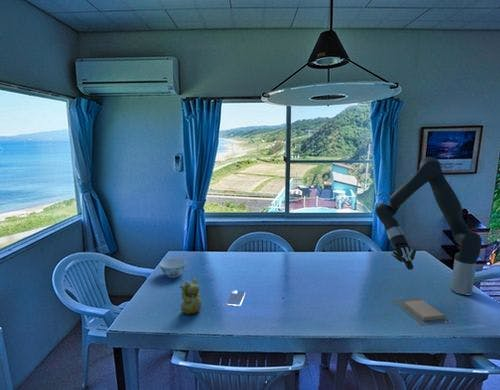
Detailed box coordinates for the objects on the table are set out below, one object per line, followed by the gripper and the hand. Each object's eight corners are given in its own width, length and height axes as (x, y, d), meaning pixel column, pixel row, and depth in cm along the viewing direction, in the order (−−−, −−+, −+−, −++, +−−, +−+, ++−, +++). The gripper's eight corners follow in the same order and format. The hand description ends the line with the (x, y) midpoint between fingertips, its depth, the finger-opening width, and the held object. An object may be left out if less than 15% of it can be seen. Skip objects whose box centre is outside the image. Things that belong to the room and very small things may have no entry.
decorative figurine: (194, 304, 148) (193, 274, 145) (206, 310, 143) (205, 279, 140) (178, 312, 141) (177, 282, 138) (190, 319, 135) (189, 287, 133)
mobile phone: (224, 304, 147) (232, 289, 162) (224, 306, 147) (232, 291, 162) (240, 305, 146) (246, 290, 161) (240, 307, 146) (246, 292, 161)
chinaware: (189, 270, 187) (189, 258, 185) (182, 281, 172) (181, 268, 171) (165, 269, 188) (165, 257, 187) (156, 280, 174) (155, 267, 172)
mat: (389, 301, 152) (389, 299, 152) (419, 298, 155) (419, 297, 154) (421, 327, 131) (421, 325, 130) (454, 323, 133) (454, 322, 133)
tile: (404, 301, 146) (423, 316, 133) (423, 300, 148) (444, 315, 135) (403, 305, 146) (423, 321, 134) (422, 304, 148) (443, 319, 135)
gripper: (388, 234, 156) (402, 267, 146) (412, 233, 158) (427, 265, 148) (381, 241, 162) (394, 273, 152) (404, 239, 164) (419, 271, 154)
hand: (411, 269), depth 150 cm, fingers closed
